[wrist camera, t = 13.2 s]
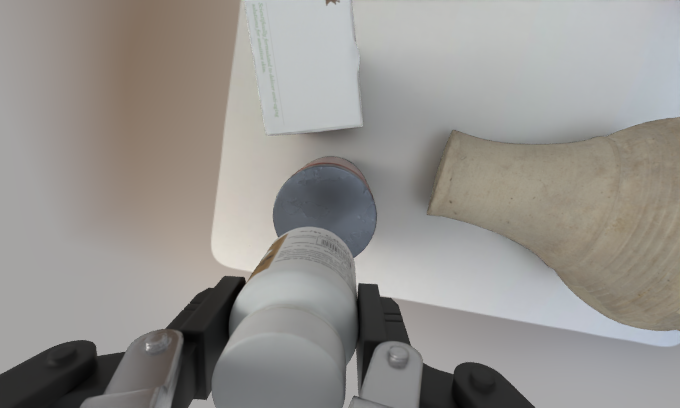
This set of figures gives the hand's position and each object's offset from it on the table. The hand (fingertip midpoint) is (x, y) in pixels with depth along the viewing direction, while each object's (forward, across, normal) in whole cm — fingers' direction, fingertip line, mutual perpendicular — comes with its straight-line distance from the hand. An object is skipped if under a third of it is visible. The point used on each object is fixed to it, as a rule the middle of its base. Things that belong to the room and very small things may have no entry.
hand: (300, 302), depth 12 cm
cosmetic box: (+25, +1, -11) cm, 27 cm away
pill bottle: (+4, 0, 0) cm, 4 cm away
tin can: (+24, 0, 0) cm, 24 cm away
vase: (+24, -21, -2) cm, 33 cm away
